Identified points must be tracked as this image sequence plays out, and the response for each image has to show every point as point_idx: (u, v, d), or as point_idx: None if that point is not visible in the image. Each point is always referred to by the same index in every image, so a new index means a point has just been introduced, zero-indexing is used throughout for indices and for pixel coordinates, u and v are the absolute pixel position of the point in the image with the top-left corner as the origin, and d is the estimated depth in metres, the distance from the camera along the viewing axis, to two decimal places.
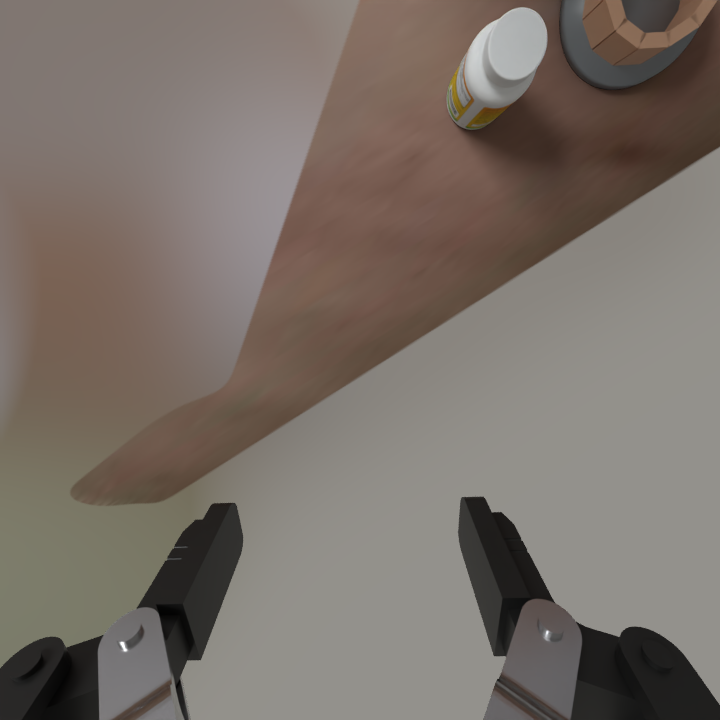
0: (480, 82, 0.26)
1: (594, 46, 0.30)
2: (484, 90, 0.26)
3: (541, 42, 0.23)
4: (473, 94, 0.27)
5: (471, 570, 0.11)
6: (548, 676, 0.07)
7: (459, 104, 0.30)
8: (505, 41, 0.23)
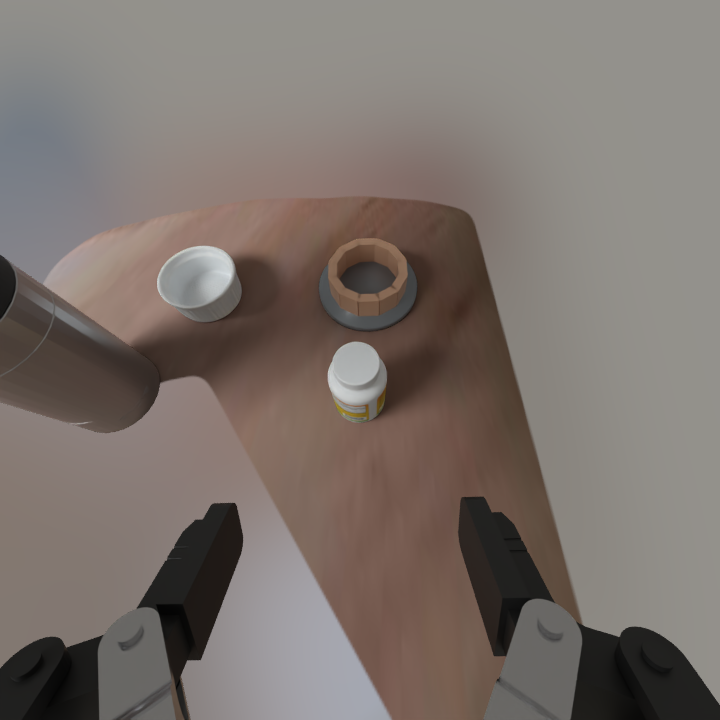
0: (360, 395, 0.29)
1: (378, 313, 0.40)
2: (367, 395, 0.29)
3: (364, 347, 0.29)
4: (364, 403, 0.30)
5: (471, 570, 0.11)
6: (547, 676, 0.07)
7: (361, 414, 0.33)
8: (349, 370, 0.28)
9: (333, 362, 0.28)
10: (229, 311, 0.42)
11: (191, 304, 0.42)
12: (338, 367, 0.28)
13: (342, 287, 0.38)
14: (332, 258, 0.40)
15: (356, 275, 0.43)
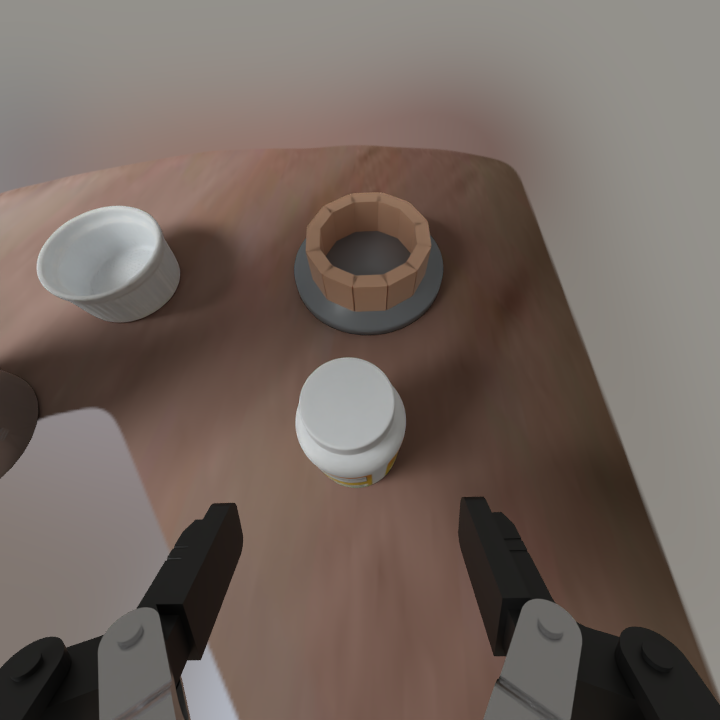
0: (356, 462, 0.15)
1: (385, 307, 0.26)
2: (370, 461, 0.15)
3: (364, 369, 0.15)
4: (363, 475, 0.16)
5: (471, 570, 0.11)
6: (548, 676, 0.07)
7: (358, 483, 0.19)
8: (332, 416, 0.14)
9: (301, 400, 0.14)
10: (157, 305, 0.27)
11: None
12: (311, 411, 0.14)
13: (328, 265, 0.24)
14: (313, 222, 0.26)
15: (350, 250, 0.28)
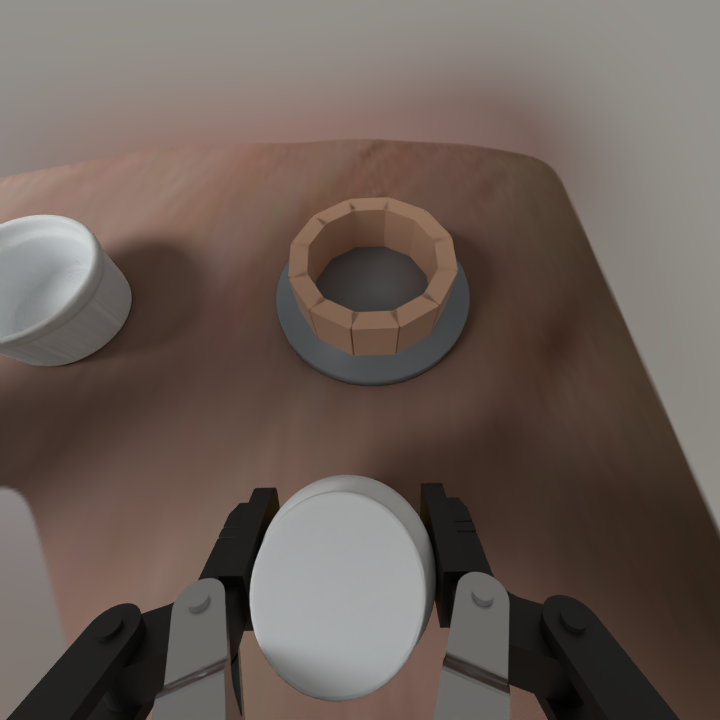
0: None
1: (394, 350, 0.19)
2: None
3: (368, 517, 0.08)
4: None
5: None
6: (485, 641, 0.07)
7: None
8: (310, 621, 0.07)
9: (254, 582, 0.08)
10: (98, 344, 0.21)
11: (26, 330, 0.22)
12: (270, 608, 0.07)
13: (317, 297, 0.18)
14: (299, 237, 0.20)
15: (349, 272, 0.22)
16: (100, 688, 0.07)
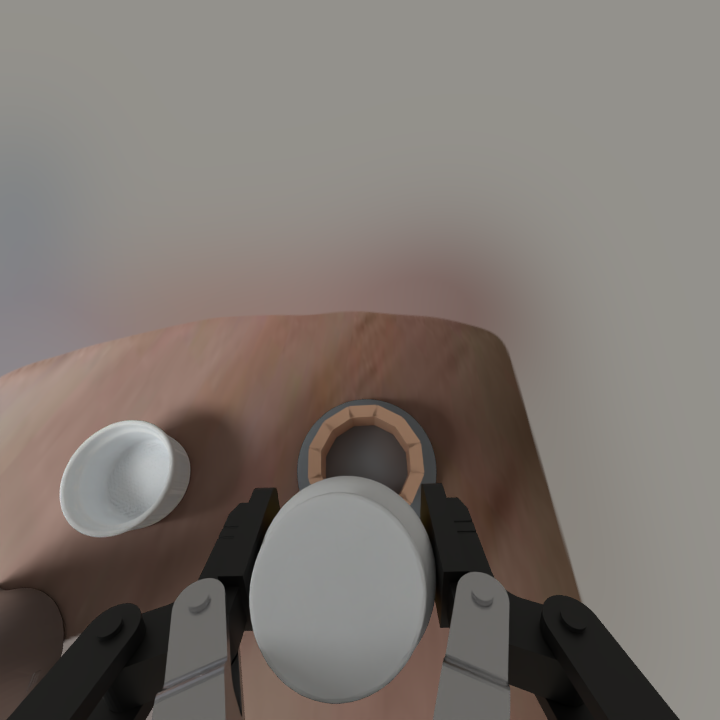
0: None
1: None
2: None
3: (368, 518, 0.08)
4: None
5: None
6: (485, 642, 0.07)
7: None
8: (310, 624, 0.07)
9: (254, 584, 0.08)
10: (171, 510, 0.29)
11: (117, 499, 0.30)
12: (270, 610, 0.07)
13: None
14: (314, 442, 0.28)
15: (349, 449, 0.30)
16: (100, 688, 0.07)
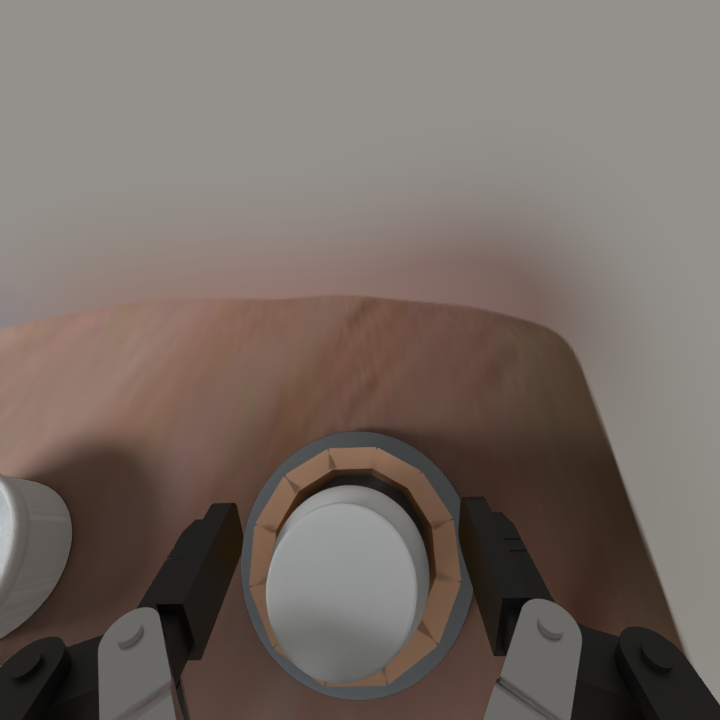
0: None
1: None
2: None
3: (368, 526, 0.09)
4: None
5: (471, 570, 0.11)
6: (548, 676, 0.07)
7: None
8: (318, 616, 0.09)
9: (269, 582, 0.09)
10: (25, 618, 0.17)
11: None
12: (284, 604, 0.09)
13: None
14: (265, 513, 0.16)
15: None
16: None
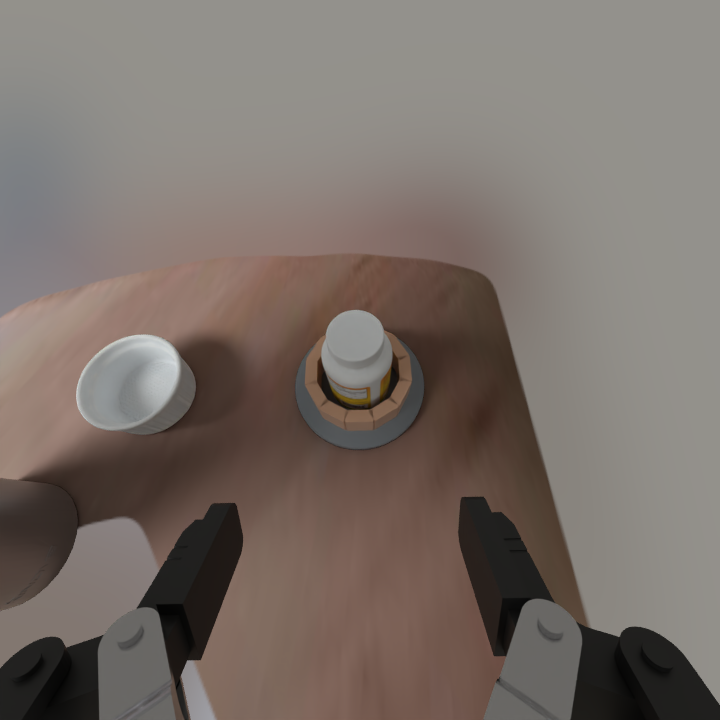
0: (360, 375, 0.24)
1: (373, 428, 0.30)
2: (369, 375, 0.24)
3: (365, 316, 0.24)
4: (364, 385, 0.25)
5: (471, 570, 0.11)
6: (548, 676, 0.07)
7: (361, 400, 0.28)
8: (346, 343, 0.23)
9: (327, 334, 0.23)
10: (177, 419, 0.32)
11: (128, 409, 0.32)
12: (333, 340, 0.23)
13: (323, 399, 0.28)
14: (311, 354, 0.30)
15: None
16: None
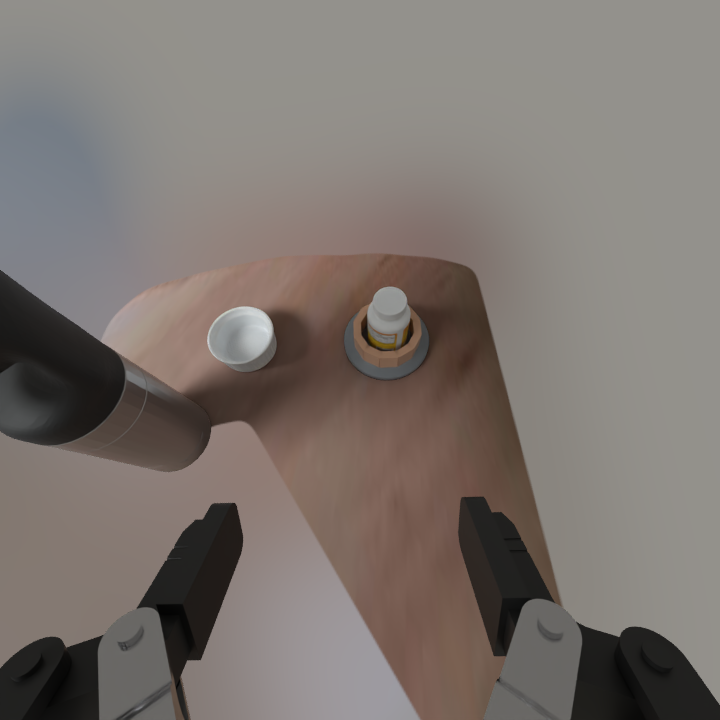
0: (392, 325, 0.41)
1: (396, 365, 0.47)
2: (397, 325, 0.41)
3: (395, 290, 0.40)
4: (394, 332, 0.41)
5: (471, 570, 0.11)
6: (548, 676, 0.07)
7: (390, 345, 0.44)
8: (385, 305, 0.40)
9: (373, 300, 0.40)
10: (267, 362, 0.48)
11: (234, 356, 0.49)
12: (377, 303, 0.40)
13: (366, 345, 0.45)
14: (356, 318, 0.47)
15: None
16: None
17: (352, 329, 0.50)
